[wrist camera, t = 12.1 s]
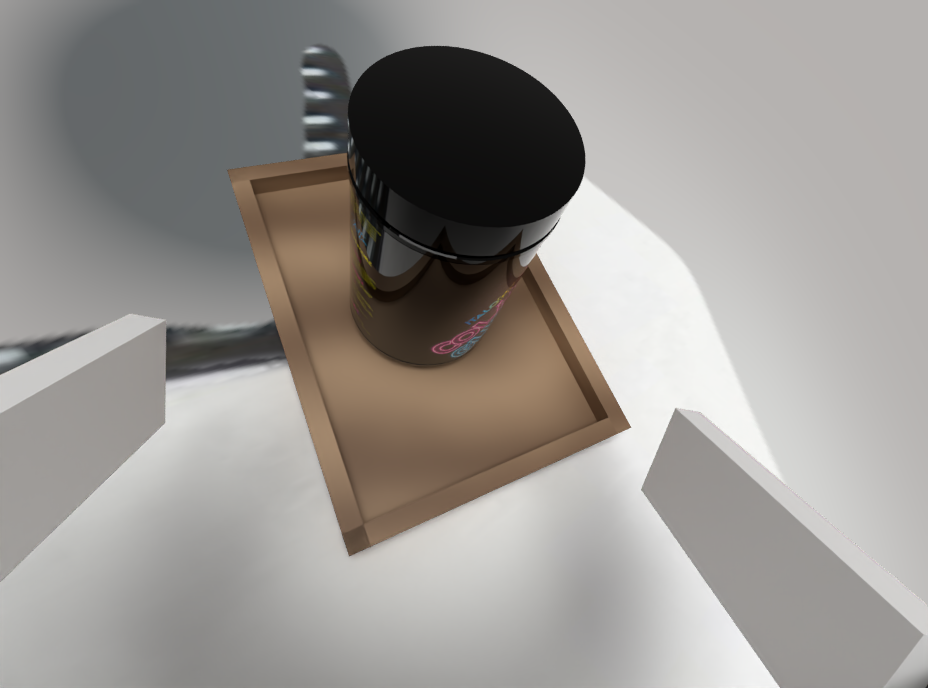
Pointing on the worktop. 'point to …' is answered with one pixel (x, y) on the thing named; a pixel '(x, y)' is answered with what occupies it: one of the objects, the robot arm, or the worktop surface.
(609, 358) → the worktop surface
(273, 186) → the tray
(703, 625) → the worktop surface
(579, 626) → the worktop surface
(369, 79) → the supplement container
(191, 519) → the worktop surface
